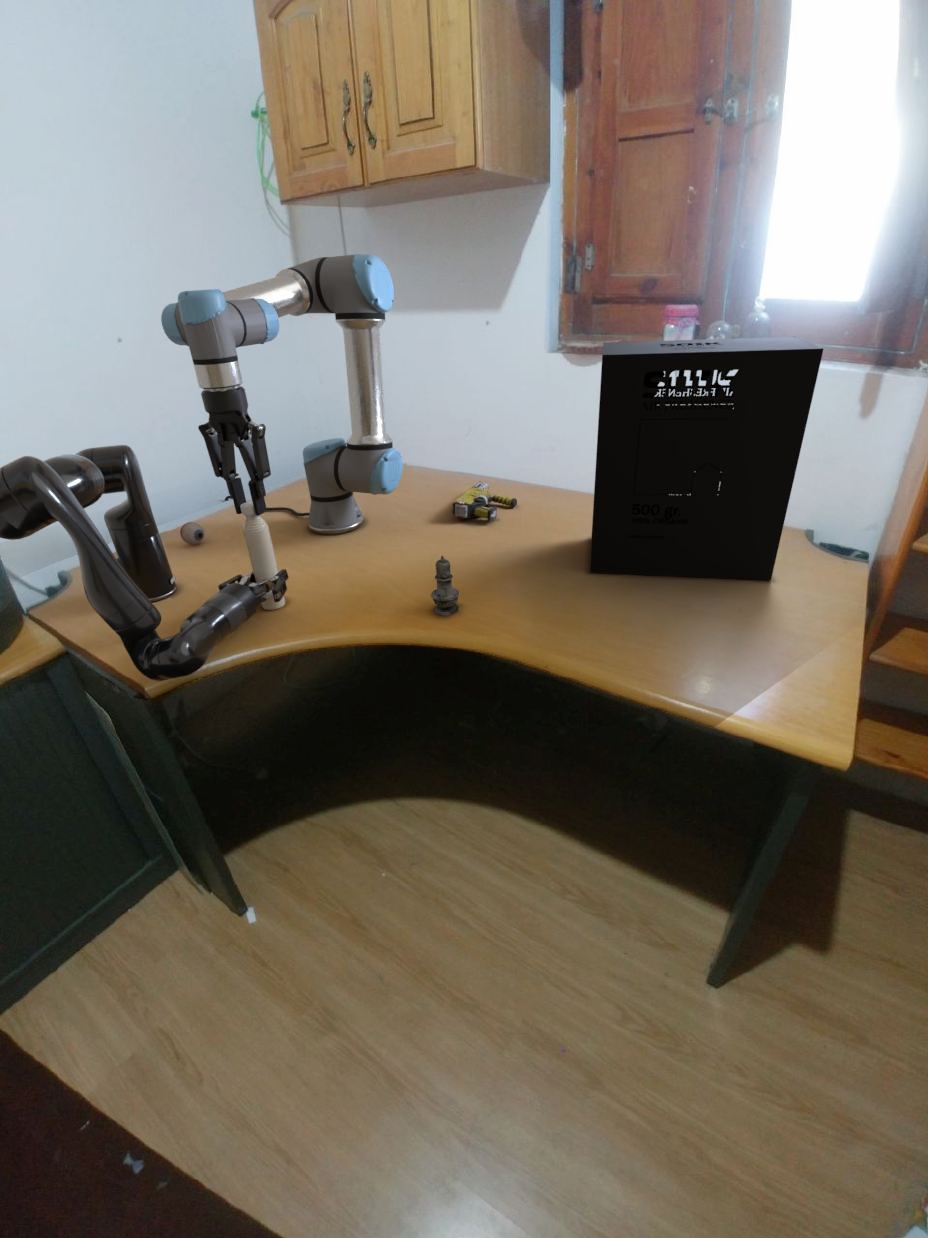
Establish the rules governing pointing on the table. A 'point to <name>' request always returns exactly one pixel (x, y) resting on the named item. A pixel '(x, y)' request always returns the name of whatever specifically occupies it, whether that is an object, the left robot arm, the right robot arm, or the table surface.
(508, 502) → the toy gun
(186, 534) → the eyeball
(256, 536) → the bottle
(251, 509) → the cap
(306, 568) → the table surface
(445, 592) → the grey chess piece
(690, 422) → the cardboard box
